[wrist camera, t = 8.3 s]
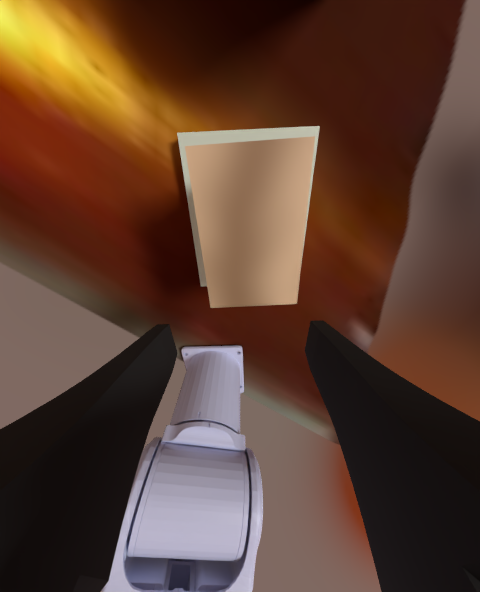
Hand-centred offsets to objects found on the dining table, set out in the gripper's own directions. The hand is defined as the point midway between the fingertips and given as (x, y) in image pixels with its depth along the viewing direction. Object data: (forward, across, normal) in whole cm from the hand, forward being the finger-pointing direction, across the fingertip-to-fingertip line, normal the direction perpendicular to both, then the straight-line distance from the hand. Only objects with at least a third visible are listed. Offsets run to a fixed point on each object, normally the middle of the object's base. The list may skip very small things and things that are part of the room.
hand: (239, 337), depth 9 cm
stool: (+10, -1, -4) cm, 10 cm away
